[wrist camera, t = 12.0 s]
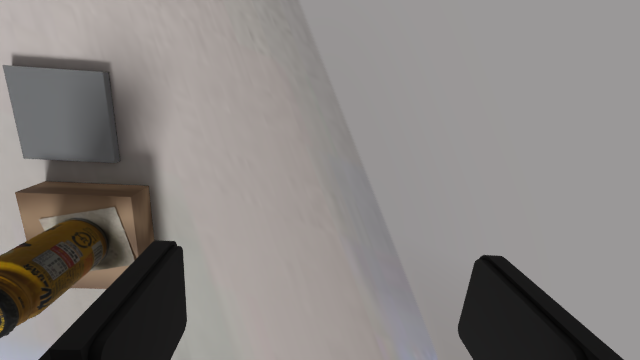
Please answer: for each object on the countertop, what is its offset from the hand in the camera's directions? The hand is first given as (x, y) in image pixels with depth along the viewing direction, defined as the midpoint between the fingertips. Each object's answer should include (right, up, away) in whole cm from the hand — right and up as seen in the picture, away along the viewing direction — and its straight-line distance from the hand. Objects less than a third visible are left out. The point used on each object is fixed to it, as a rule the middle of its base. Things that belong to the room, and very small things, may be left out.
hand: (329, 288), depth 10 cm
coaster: (-29, +11, +25) cm, 40 cm away
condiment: (-27, -4, +25) cm, 37 cm away
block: (-28, -3, +29) cm, 40 cm away
